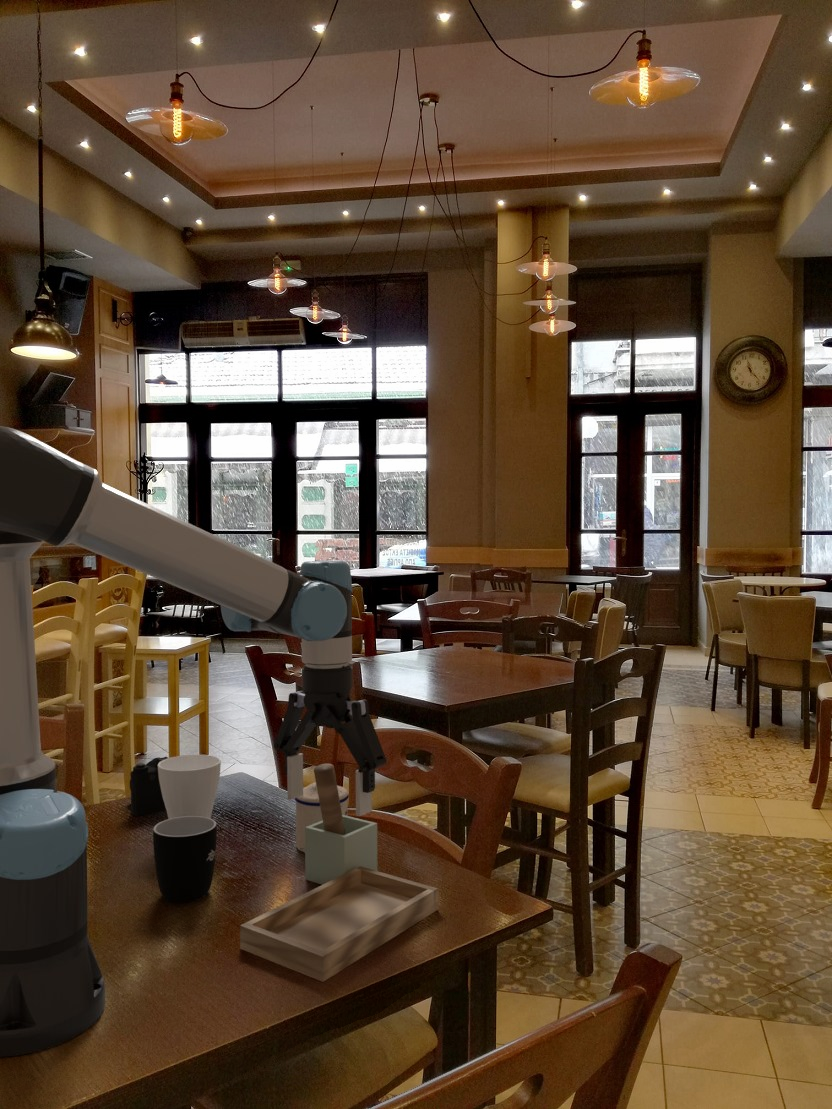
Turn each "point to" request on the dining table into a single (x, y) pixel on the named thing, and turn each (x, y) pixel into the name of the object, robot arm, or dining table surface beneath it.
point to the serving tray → (338, 922)
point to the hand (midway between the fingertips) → (328, 805)
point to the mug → (185, 857)
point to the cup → (189, 784)
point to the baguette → (329, 798)
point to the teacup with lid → (313, 811)
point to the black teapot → (146, 789)
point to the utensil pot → (339, 849)
